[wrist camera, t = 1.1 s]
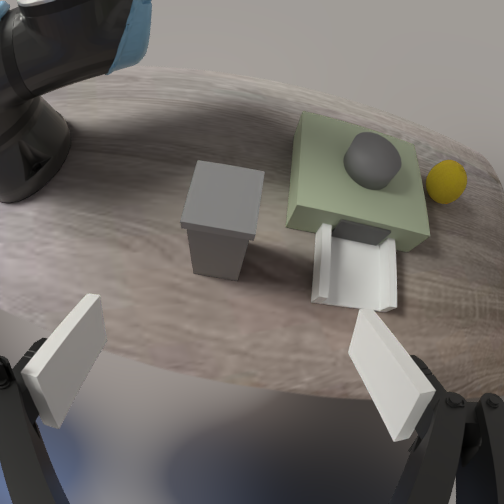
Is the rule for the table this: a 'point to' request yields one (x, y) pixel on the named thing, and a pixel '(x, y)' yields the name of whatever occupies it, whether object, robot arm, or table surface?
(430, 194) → the lemon
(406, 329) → the table surface
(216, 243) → the gray capped pillar
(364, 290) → the green block with knob
